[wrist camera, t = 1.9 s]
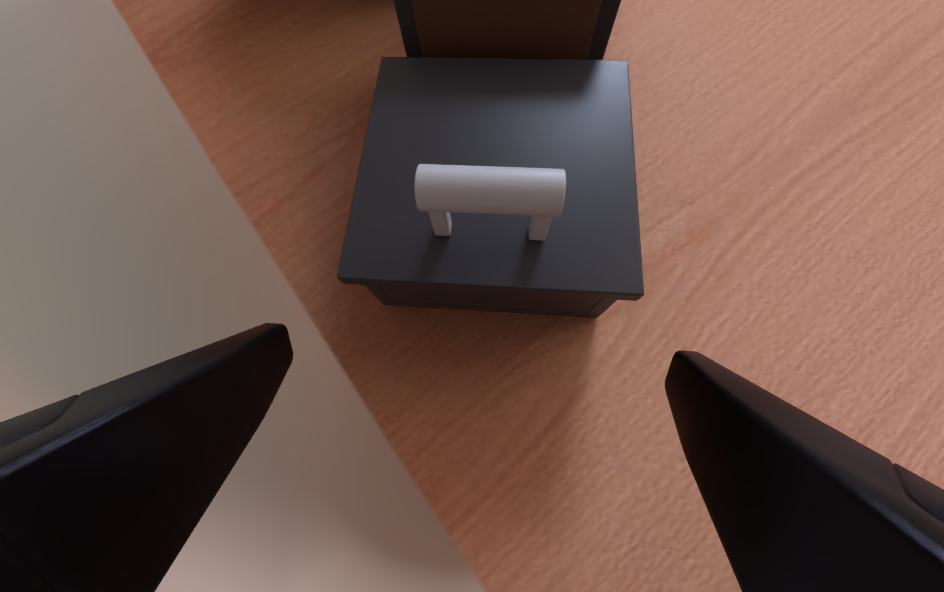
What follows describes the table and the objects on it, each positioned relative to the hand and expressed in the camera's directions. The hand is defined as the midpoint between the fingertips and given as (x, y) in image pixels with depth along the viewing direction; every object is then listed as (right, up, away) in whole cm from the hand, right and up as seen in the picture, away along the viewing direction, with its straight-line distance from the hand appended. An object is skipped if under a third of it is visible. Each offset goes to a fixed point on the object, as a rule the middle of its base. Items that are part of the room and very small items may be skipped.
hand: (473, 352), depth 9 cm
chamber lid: (+1, +7, +9) cm, 12 cm away
